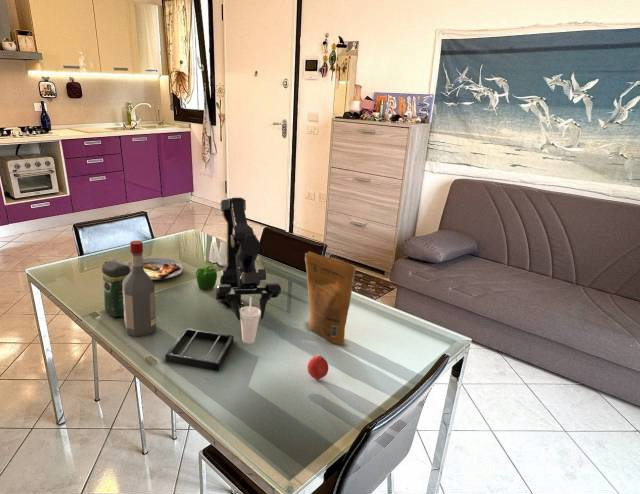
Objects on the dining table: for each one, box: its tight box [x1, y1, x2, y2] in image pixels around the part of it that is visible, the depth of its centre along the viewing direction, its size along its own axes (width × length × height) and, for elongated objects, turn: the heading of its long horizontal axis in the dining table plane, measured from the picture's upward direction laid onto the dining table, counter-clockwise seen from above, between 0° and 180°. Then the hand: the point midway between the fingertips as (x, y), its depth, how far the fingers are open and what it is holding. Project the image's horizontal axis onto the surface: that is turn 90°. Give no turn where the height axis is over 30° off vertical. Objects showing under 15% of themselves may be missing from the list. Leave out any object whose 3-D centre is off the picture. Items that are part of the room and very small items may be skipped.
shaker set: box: [208, 240, 227, 268], centre depth 198 cm, size 12×4×11 cm, turn 43°
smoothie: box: [239, 295, 261, 344], centre depth 127 cm, size 6×6×14 cm
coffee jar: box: [101, 259, 130, 318], centre depth 150 cm, size 10×8×19 cm
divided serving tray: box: [164, 327, 235, 372], centre depth 132 cm, size 16×16×2 cm
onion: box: [306, 354, 329, 381], centre depth 121 cm, size 6×6×8 cm
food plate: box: [126, 257, 185, 281], centre depth 187 cm, size 25×23×4 cm
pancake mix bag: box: [304, 250, 357, 346], centre depth 141 cm, size 7×19×28 cm, turn 37°
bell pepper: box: [195, 264, 218, 292], centre depth 174 cm, size 8×8×10 cm
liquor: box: [122, 240, 157, 338], centre depth 138 cm, size 9×9×30 cm
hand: (250, 319), depth 125 cm, fingers closed on smoothie, 6 cm apart
